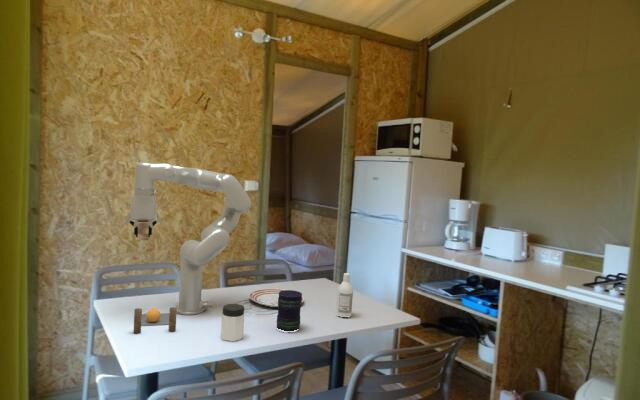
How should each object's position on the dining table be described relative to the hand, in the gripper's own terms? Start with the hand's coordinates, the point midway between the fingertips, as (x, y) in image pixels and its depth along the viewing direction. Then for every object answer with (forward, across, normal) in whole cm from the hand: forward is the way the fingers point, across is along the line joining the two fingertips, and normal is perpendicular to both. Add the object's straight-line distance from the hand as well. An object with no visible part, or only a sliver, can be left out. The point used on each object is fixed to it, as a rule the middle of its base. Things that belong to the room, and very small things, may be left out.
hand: (142, 236), depth 182 cm
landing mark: (+34, -6, +5) cm, 35 cm away
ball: (+31, -5, +7) cm, 33 cm away
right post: (+34, -11, +19) cm, 41 cm away
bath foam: (+36, -87, +15) cm, 96 cm away
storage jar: (+35, -57, +25) cm, 71 cm away
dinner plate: (+36, -63, -12) cm, 73 cm away
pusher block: (+1, 0, 0) cm, 1 cm away
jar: (+35, -32, +30) cm, 56 cm away
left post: (+34, +1, +18) cm, 39 cm away
